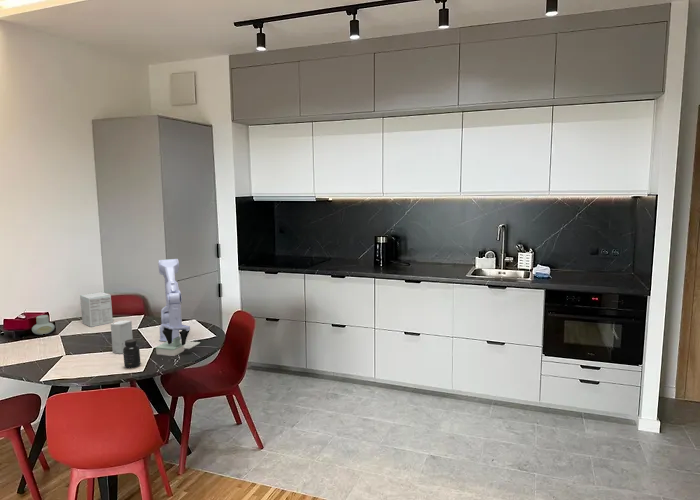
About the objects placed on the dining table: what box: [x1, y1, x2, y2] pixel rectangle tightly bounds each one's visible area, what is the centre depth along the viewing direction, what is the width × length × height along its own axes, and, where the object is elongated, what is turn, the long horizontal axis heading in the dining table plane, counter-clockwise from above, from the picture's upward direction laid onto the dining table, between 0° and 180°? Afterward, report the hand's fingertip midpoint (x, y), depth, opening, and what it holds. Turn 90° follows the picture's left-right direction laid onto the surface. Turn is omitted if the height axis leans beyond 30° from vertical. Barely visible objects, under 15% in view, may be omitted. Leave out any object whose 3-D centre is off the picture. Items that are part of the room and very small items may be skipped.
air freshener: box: [31, 314, 56, 336], centre depth 275 cm, size 11×8×10 cm
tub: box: [155, 345, 185, 357], centre depth 240 cm, size 10×8×3 cm
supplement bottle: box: [122, 338, 141, 369], centre depth 222 cm, size 7×7×12 cm
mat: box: [180, 340, 201, 350], centre depth 252 cm, size 12×10×1 cm
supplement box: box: [79, 291, 114, 328], centre depth 295 cm, size 13×13×18 cm
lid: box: [155, 336, 183, 350], centre depth 240 cm, size 10×8×6 cm
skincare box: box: [110, 319, 134, 355], centre depth 243 cm, size 8×6×15 cm
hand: (176, 344), depth 239 cm, fingers open, 7 cm apart
